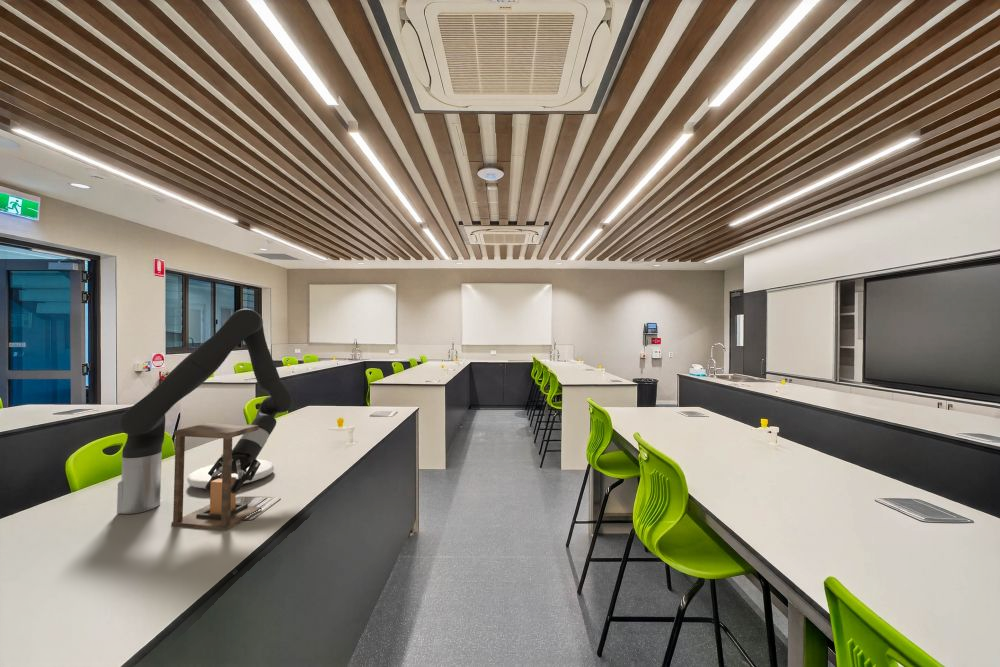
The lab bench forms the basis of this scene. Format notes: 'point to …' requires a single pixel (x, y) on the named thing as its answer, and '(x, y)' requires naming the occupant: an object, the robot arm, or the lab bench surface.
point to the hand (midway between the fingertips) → (220, 491)
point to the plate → (202, 476)
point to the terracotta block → (219, 496)
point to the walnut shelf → (241, 510)
